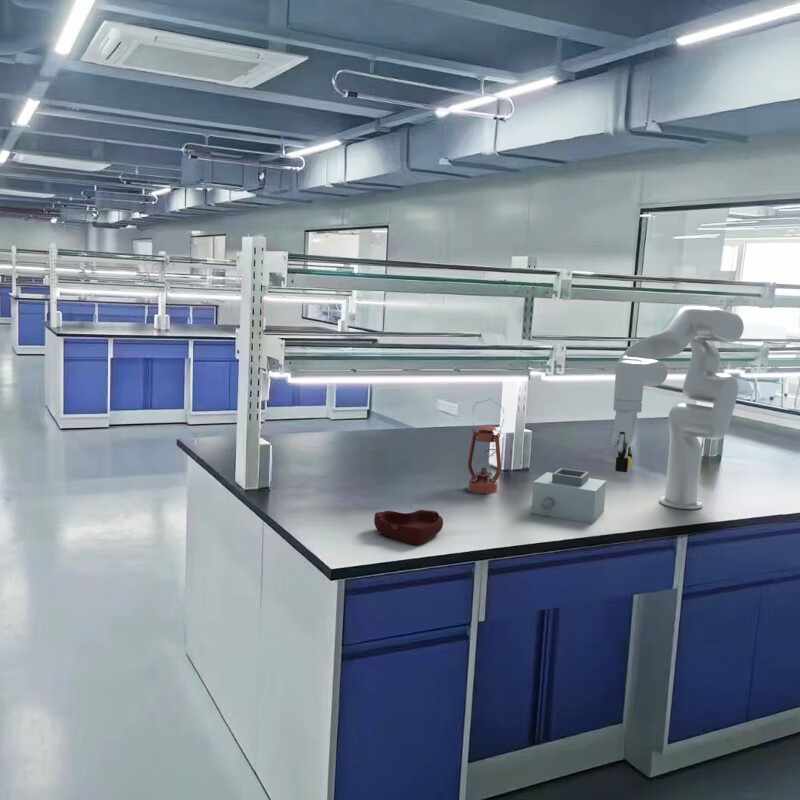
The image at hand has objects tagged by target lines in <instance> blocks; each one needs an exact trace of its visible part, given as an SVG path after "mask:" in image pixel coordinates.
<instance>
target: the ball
mask: <svg viewBox="0 0 800 800" xmlns="http://www.w3.org/2000/svg"><path fill="white" fill-rule="evenodd" d="M627 458H628V469H627V472H628V471H630V470H631V469H632V467H633V459H631V458H630V457H629V456H628V455H627ZM614 466H615V467H616V458H615V460H614Z"/></svg>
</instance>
